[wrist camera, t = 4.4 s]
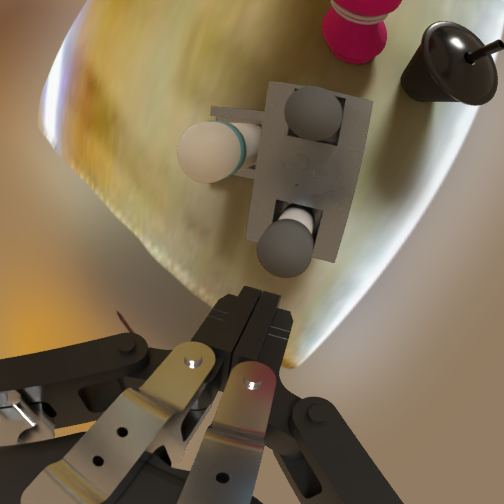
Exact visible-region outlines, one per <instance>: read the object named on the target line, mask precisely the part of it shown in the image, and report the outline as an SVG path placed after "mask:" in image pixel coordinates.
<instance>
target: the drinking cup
mask: <svg viewBox="0 0 504 504" xmlns="http://www.w3.org/2000/svg"><path fill="white" fill-rule="evenodd" d="M503 49H504V43H503V42H502V41H501V40H496V41H494V42H492V43H490V44H488V45H486V46H485V45H484V44H483V43H482V41H481V40H480V39H479V38H478V37H477V36H476V35H475V34H473V33H472V32H471V31H470V30H468V29H467V28H465V27H463V26H461V25H459V24H456V23H453V22H448V21H439V22H436V23H433V24H431V25H430V26H429V27H428V28H427V29H426V30H425V32H424V34H423V36H422V40H421V44H420V46H419V48H418V49H417V51H416V53H415V54H414V56H413V57H412V59H411V61H410V62H409V64H408V65H407V67H406V68H405V70H404V72H403V74H402V77H401V81H402V86H403V88H404V90H405V92H406V93H407V94H408V95H409V96H410V97H411V98H413V99H414V100H417V101H420V102H461V103H464V104H467V105H474V106H476V105H482V104H485V103H487V102H489V101H490V100H491V99H492V98H493V96H494V95H495V92H496V90H497V85H498V76H497V70H496V66H495V63H494V60H493V58H492V56H491V54H493V53H495V52H498V51H501V50H503Z"/></svg>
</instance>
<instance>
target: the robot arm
mask: <svg viewBox="0 0 504 504" xmlns="http://www.w3.org/2000/svg"><path fill="white" fill-rule="evenodd" d="M280 299H281V296H280V295H276V294H273V293H269V292H266V291H263V292H262V290H258V289H255V288H251V287H248V286H244V287H243V289H242V290H241V292H240V294H239V295H238V297H237V296H234V295H231V294H228V295H226V296H224V297H222V298H221V299H219V300H218V302H217V303H216V304H215V306H214V307H213V309H212V310H211V312H210V313H209V316H207V318H206V319H205V321H204V322H203V324H202V325H201V327H200V328H199V329H198V331H197V332H196V334H195V335H194V337H193V338H192V339H191V341H190V342H185V343H182V344H180V345H178V346H177V347H176V348H174V350H162V349H155V348H148V345H147V342H146V341H145V339H144V338H142V337H141V336H140V335H138V334H135V333H121V334H118V335H113V336H109V337H105V338H101V339H97V340H93V341H88V342H84V343H80V344H75V345H71V346H66V347H62V348H57V349H52V350H48V351H43V352H38V353H33V354H28V355H22V356H17V357H12V358H6V359H0V504H263V503H261V502H260V501H259V500H258V499H257V498H255V497H254V496H252V494H253V491H254V487H255V483H256V479H257V475H258V471H259V467H260V463H261V459H262V455H263V451H264V446H265V445H266V446H267V447H269V448H271V449H272V450H273V453H274V455H275V457H276V459H277V461H278V463H279V465H280V467H281V469H282V471H283V472H284V474H285V476H286V478H287V480H288V482H289V483H290V485H291V487H292V489H293V490H294V492H295V494H296V496H297V497H298V499H299V501H300V502H301V504H404V503H403V502H402V501H401V499H400V498H399V497H398V495H397V494H396V493H395V491H394V490H393V488H392V487H391V486H390V484H389V483H388V481H387V480H386V479H385V477H384V476H383V475H382V473H381V472H380V470H379V469H378V468H377V466H376V465H375V464H374V462H373V461H372V459H371V458H370V456H369V455H368V454H367V452H366V451H365V449H364V448H363V446H362V445H361V444H360V442H359V441H358V439H357V438H356V436H355V435H354V434H353V432H352V431H351V429H350V428H349V426H348V425H347V424H346V422H345V421H344V419H343V418H342V416H341V415H340V413H339V412H338V410H337V409H336V408H335V406H334V405H333V404H332V403H331V402H329V401H328V400H326V399H323V398H320V397H307V398H304V399H301V398H299V397H298V396H296V395H294V394H293V393H291V392H290V391H288V390H287V389H286V388H285V387H284V386H283V384H282V383H281V381H280V377H279V370H280V366H281V363H282V360H283V356H284V353H285V349H286V346H287V342H288V338H289V335H290V331H291V327H292V324H293V319H292V316H291V313H290V311H286V310H283V309H279V308H278V307H279V303H280ZM218 390H219V391H222V392H223V395H222V398H221V400H220V403H219V406H218V408H217V411H216V414H215V417H214V419H213V421H212V424H211V425H210V426H209V427H208V428H207V430H206V433H205V435H204V437H203V440H202V442H201V445H200V448H199V450H198V453H197V455H196V458H195V460H194V463H193V465H192V468H191V470H190V471H186V470H180V469H176V468H177V466H178V465H179V463H180V461H181V460H182V458H183V456H184V453H185V450H186V447H187V445H188V443H189V442H190V440H191V439H192V437H193V435H194V434H195V432H196V431H197V429H198V428H199V426H200V424H201V423H202V421H203V420H204V418H205V416H206V415H207V413H208V412H209V410H210V408H211V406H212V402H213V401H214V399H215V397H216V394H217V392H218ZM95 420H97V421H96V422H95V423H94V424H93V425H92V427H91V428H90V429H89V430H88V431H87V432H80V433H75V434H71V435H67V436H63V437H58V438H54V437H55V433H54V429H57V428H62V427H68V426H73V425H77V424H82V423H87V422H91V421H95Z"/></svg>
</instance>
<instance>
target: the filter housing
mask: <svg viewBox="0 0 504 504" xmlns="http://www.w3.org/2000/svg"><path fill="white" fill-rule="evenodd" d="M302 87H306V86H303V85H297V84H291V83H283V82H275V81H269V83H268V89H267V96H266V102H265V109H264V111H256V110H247V109H238V108H227V107H214V106H211V114H210V116H217V118H216V121H224V122H229V123H246V124H258V125H261V126H262V129H261V135H260V142H259V149H258V156H257V162H256V164H254V165H252V166H250V167H247V168H245V169H243V170H240V171H238V172H236V173H235V174H234V176H239V177H245V178H250V179H254V183H253V190H252V197H251V203H250V210H249V217H248V224H247V232H246V239H245V240H247V241H251V242H255V243H258V242H259V239H260V238H261V236H262V235H263V233H264V232H265V230H266V229H267V228H268V226H269V225H270V224H272V223H273V222H275V221H277V220H278V219H279V218H280V216H281V214H282V213H283V211H284V210H285V208H286V207H287V206H288V205H290V204H292V203H294V204H298V205H302V206H306V207H310V208H311V209H312V211H313V213H314V216H315V222H314V227H313V231H312V237H313V241H314V247H313V252H312V257H313V258H317V259H321V260H324V261H328V262H332V263H335V259H336V256H337V253H338V250H339V246H340V243H341V240H342V236H343V233H344V229H345V226H346V222H347V219H348V215H349V211H350V207H351V204H352V200H353V196H354V192H355V188H356V184H357V180H358V175H359V171H360V167H361V162H362V158H363V153H364V148H365V143H366V138H367V133H368V128H369V123H370V117H371V111H372V105H373V101H370V100H367V99H363V98H359V97H355V96H352V95H347V94H343V93H339V92H335V91H330V90H328V91H330V92H331V93H332V94H333V95H334V96H335V97H336V98H337V99H338V101H339V103H340V105H341V108H342V121H341V124H340V127H339V128H338V130H337V131H336V132H335V133H334V134H333V135H332V136H330V137H329V138H327V139H324V140H320V141H310V140H306V139H303V138H301V137H299V136H297V135H296V134H295V133H294V132H292V130H291V129H290V128H289V126H288V125H287V123H286V120H285V116H284V108H285V104H286V101H287V100H288V98H289V96H290V95H291V94H292V93H293V92H295V91H296V90H298V89H300V88H302Z"/></svg>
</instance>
